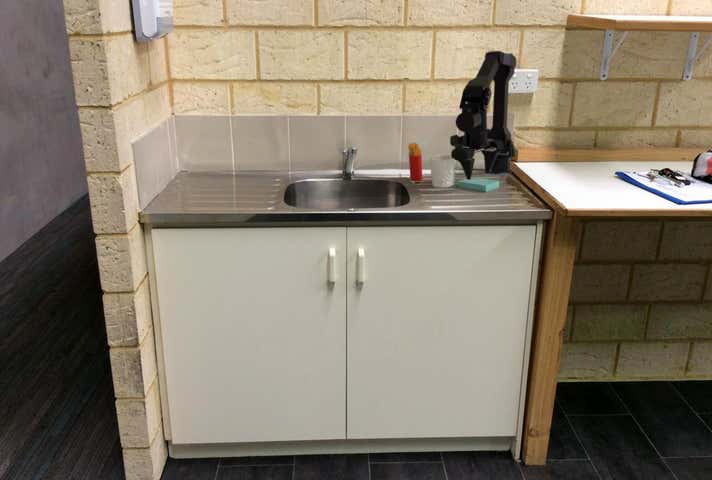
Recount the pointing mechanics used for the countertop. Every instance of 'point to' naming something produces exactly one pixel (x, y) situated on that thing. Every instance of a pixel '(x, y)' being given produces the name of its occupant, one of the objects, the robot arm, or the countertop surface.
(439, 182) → the white cup
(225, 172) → the countertop surface
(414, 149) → the french fries
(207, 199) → the countertop surface
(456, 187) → the mat
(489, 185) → the lid
